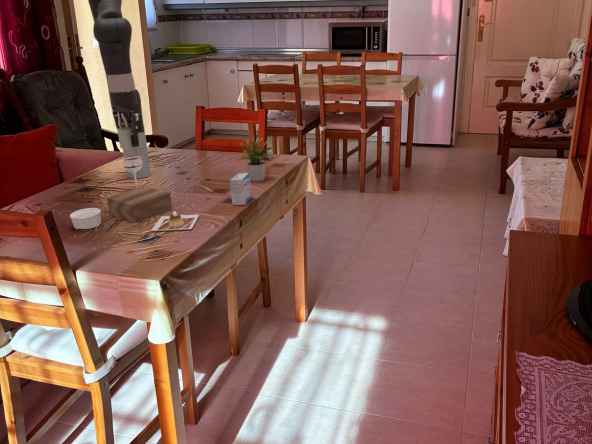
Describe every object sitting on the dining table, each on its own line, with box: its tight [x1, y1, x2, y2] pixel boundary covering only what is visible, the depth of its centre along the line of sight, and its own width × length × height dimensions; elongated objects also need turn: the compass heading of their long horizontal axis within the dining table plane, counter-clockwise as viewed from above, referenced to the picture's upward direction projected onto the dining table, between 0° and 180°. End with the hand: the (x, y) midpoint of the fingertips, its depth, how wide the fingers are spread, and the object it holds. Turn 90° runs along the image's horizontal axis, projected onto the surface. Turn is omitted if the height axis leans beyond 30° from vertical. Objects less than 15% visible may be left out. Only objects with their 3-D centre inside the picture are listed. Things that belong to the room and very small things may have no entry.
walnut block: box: [106, 185, 173, 224], centre depth 183 cm, size 14×14×6 cm
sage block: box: [116, 127, 143, 150], centre depth 176 cm, size 5×5×6 cm
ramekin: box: [69, 207, 102, 230], centre depth 174 cm, size 9×9×4 cm
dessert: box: [150, 210, 200, 232], centre depth 171 cm, size 12×12×5 cm
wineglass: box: [122, 155, 143, 190], centre depth 205 cm, size 7×7×12 cm
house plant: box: [239, 134, 277, 182], centre depth 207 cm, size 14×14×16 cm
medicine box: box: [229, 172, 253, 206], centre depth 187 cm, size 8×4×9 cm, turn 168°
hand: (131, 145), depth 176 cm, fingers closed on sage block, 5 cm apart
